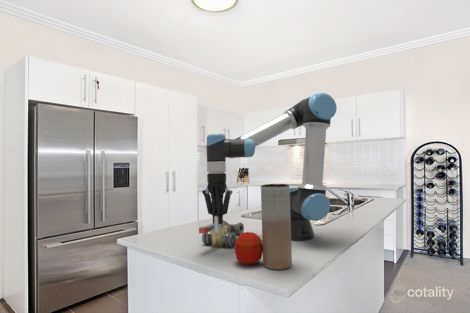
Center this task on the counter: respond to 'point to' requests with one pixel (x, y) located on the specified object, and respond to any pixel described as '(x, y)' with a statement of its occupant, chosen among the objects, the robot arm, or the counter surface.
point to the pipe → (234, 227)
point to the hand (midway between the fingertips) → (218, 232)
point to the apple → (248, 248)
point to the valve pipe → (220, 238)
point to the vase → (276, 226)
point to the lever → (208, 228)
